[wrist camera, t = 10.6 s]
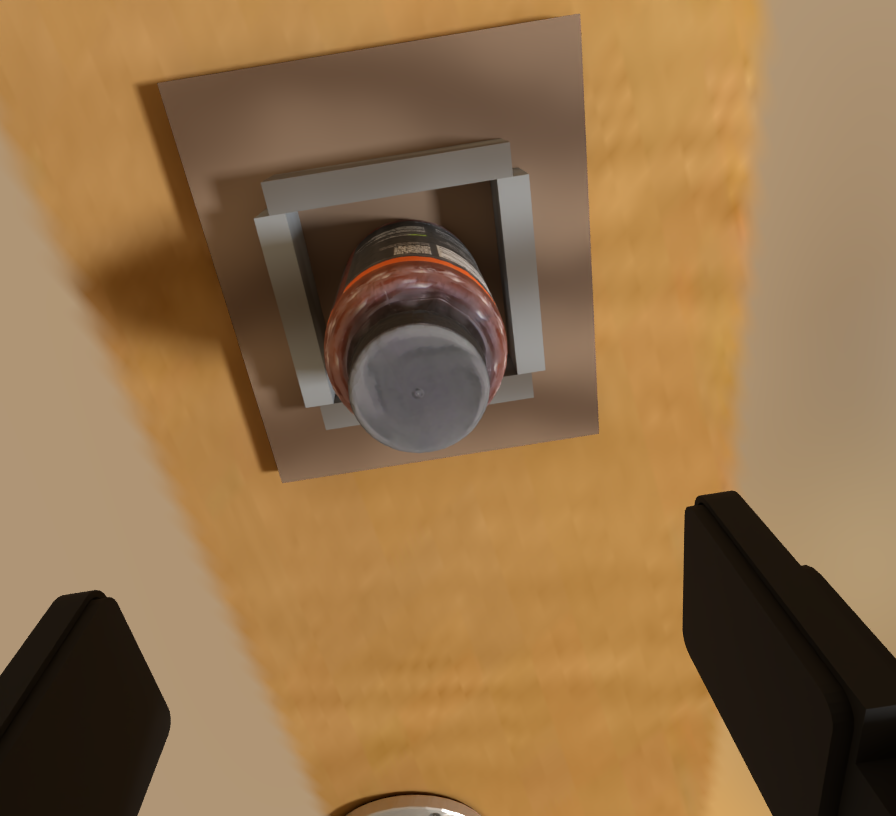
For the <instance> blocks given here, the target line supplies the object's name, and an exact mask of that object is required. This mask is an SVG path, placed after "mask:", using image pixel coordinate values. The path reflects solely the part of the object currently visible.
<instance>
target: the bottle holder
mask: <svg viewBox="0 0 896 816" xmlns="http://www.w3.org/2000/svg"><path fill="white" fill-rule="evenodd" d="M157 85H158V88H159V91H160V94H161V97H162V100H163V104H164V107H165V110H166V113H167V116H168V120H169V123H170V126H171V129H172V132H173V136H174V139H175V142H176V145H177V148H178V152H179V155H180V158H181V161H182V164H183V168H184V171H185V174H186V177H187V180H188V183H189V187H190V190H191V193H192V196H193V199H194V203H195V206H196V209H197V212H198V215H199V219H200V222H201V225H202V228H203V231H204V235H205V238H206V241H207V244H208V247H209V251H210V254H211V257H212V260H213V263H214V267H215V270H216V273H217V276H218V279H219V282H220V286H221V289H222V292H223V295H224V298H225V302H226V305H227V308H228V311H229V314H230V318H231V321H232V324H233V327H234V330H235V334H236V337H237V340H238V343H239V346H240V350H241V353H242V356H243V359H244V362H245V365H246V369H247V372H248V375H249V378H250V381H251V385H252V388H253V391H254V394H255V397H256V401H257V404H258V407H259V410H260V413H261V417H262V420H263V423H264V426H265V429H266V433H267V436H268V439H269V442H270V445H271V449H272V452H273V455H274V458H275V461H276V464H277V468H278V471H279V474H280V477H281V480H282V483H286V482H293V481H299V480H305V479H312V478H318V477H325V476H331V475H337V474H344V473H350V472H357V471H363V470H369V469H376V468H382V467H389V466H395V465H401V464H408V463H414V462H421V461H427V460H433V459H440V458H446V457H453V456H459V455H465V454H472V453H478V452H485V451H491V450H497V449H504V448H510V447H517V446H523V445H529V444H536V443H542V442H549V441H555V440H561V439H568V438H574V437H581V436H587V435H593V434H599V422H598V400H597V378H596V355H595V333H594V311H593V289H592V266H591V244H590V222H589V199H588V177H587V155H586V132H585V110H584V88H583V65H582V43H581V21H580V14H574V15H568V16H562V17H556V18H550V19H544V20H538V21H532V22H526V23H520V24H514V25H508V26H501V27H495V28H489V29H483V30H477V31H471V32H465V33H459V34H453V35H447V36H441V37H435V38H429V39H422V40H416V41H410V42H404V43H398V44H392V45H386V46H380V47H374V48H368V49H362V50H356V51H350V52H343V53H337V54H331V55H325V56H319V57H313V58H307V59H301V60H295V61H289V62H283V63H277V64H271V65H264V66H258V67H252V68H246V69H240V70H234V71H228V72H222V73H216V74H210V75H204V76H198V77H192V78H185V79H179V80H173V81H167V82H161V83H157ZM413 219H414V220H423V221H427V222H432V223H435V224H437V225H439V226H441V227H443V228H445V229H446V230H448V231H450V232H451V233H453V234H454V235H455V236H456V237H458V238H459V239H460V240H461V241H462V243H463V244H464V245H465V246H466V248H467V249H468V250H469V252H470V253H471V254H472V256H473V258H474V259H475V262H476V264H477V266H478V268H479V270H480V273H481V275H482V277H483V279H484V281H485V283H486V285H487V287H488V289H489V291H490V293H491V296H492V298H493V300H494V302H495V304H496V306H497V308H498V311H499V313H500V315H501V318H502V320H503V324H504V327H505V332H506V338H507V364H506V369H505V373H504V376H503V379H502V381H501V385H500V387H499V389H498V391H497V392H496V394H495V396H494V398H493V399H492V401H491V402H490V403H489V405H488V406H487V407H486V409H485V412H484V414H483V416H482V418H481V419H480V421H479V422H478V424H477V426H476V427H475V428H474V429H473V430H472V431H471V432H470V433H469V434H468V435H467V436H466V437H464V438H463V439H461V440H460V441H458V442H457V443H455V444H454V445H451V446H449V447H447V448H445V449H441V450H438V451H433V452H424V453H412V452H403V451H398V450H395V449H393V448H390V447H388V446H385V445H384V444H382V443H380V442H379V441H377V440H376V439H374V438H373V437H371V436H370V434H368V433H367V432H366V431H365V429H364V428H363V427H362V426H361V425H360V423H359V422H358V420H357V419H356V417H355V415H353V414H352V413H351V412H350V411H349V410H348V408H347V407H346V406H345V405H344V404H343V403H342V401H340V399H339V397H338V396H337V395H336V393H335V391H334V390H333V387H332V384H331V382H330V380H329V377H328V374H327V371H326V366H325V358H324V338H325V332H326V328H327V324H328V319H329V315H330V312H331V309H332V306H333V304H334V301H335V297H336V294H337V291H338V287H339V284H340V281H341V278H342V274H343V271H344V268H345V266H346V264H347V262H348V260H349V258H350V256H351V254H352V252H353V251H354V249H355V248H356V246H357V245H358V244H359V242H360V241H361V240H363V239H364V238H365V237H366V236H367V235H368V234H369V233H370V232H372V231H373V230H375V229H376V228H378V227H381V226H383V225H385V224H387V223H391V222H395V221H399V220H413Z"/></svg>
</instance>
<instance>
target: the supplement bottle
mask: <svg viewBox="0 0 896 816" xmlns="http://www.w3.org/2000/svg"><path fill="white" fill-rule="evenodd" d="M324 358H325V366H326V371H327V374H328V377H329V380H330V382H331V384H332V387H333V390H334V391H335V393H336V395H337V396H338V397H339V399H340V401H342V403H343V404H344V405H345V406H346V407H347V408H348V410H349V411H350V412H351V413H352V414H353V415H355V417H356V419H357V420H358V422H359V423H360V425H361V426H362V427H363V428H364V429H365V431H366V432H367V433H368V434H370V436H371V437H373V438H374V439H376V440H377V441H379V442H380V443H382V444H384V445H385V446H388V447H390V448H393V449H395V450H398V451H403V452H412V453H424V452H433V451H438V450H441V449H445V448H447V447H449V446H451V445H454V444H455V443H457V442H458V441H460V440H461V439H463V438H464V437H466V436H467V435H468V434H469V433H470V432H471V431H472V430H473V429H474V428H475V427H476V426H477V424H478V422H479V421H480V419H481V418H482V416H483V414H484V412H485V409H486V407H487V406H488V405H489V403H490V402H491V401H492V399H493V398H494V396H495V394H496V392H497V391H498V389H499V387H500V385H501V381H502V379H503V376H504V373H505V369H506V364H507V338H506V332H505V327H504V324H503V320H502V318H501V315H500V313H499V311H498V308H497V306H496V304H495V302H494V300H493V298H492V296H491V293H490V291H489V289H488V287H487V285H486V283H485V281H484V279H483V277H482V275H481V273H480V270H479V268H478V266H477V264H476V262H475V259H474V258H473V256H472V254H471V253H470V252H469V250H468V249H467V248H466V246H465V245H464V244H463V243H462V241H461V240H460V239H459V238H458V237H456V236H455V235H454V234H453V233H451V232H450V231H448V230H446V229H445V228H443V227H441V226H439V225H437V224H435V223H432V222H427V221H423V220H414V219H413V220H399V221H395V222H391V223H387V224H385V225H383V226H381V227H378V228H376V229H375V230H373V231H372V232H370V233H369V234H368V235H367V236H366V237H365V238H364V239H363V240H361V241H360V242H359V244H358V245H357V246H356V248H355V249H354V251H353V252H352V254H351V256H350V258H349V260H348V262H347V264H346V266H345V268H344V271H343V274H342V278H341V281H340V284H339V287H338V291H337V294H336V297H335V301H334V304H333V306H332V309H331V312H330V315H329V319H328V324H327V328H326V332H325V338H324Z"/></svg>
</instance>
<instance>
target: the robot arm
mask: <svg viewBox="0 0 896 816" xmlns="http://www.w3.org/2000/svg"><path fill="white" fill-rule="evenodd" d="M683 637H684V641H685V645H686V648H687V651H688V653H689V655H690V657H691V659H692V661H693V663H694V665H695V667H696V669H697V670H698V672H699V674H700V676H701V678H702V680H703V682H704V684H705V686H706V688H707V690H708V692H709V694H710V696H711V698H712V699H713V701H714V703H715V705H716V707H717V709H718V711H719V713H720V715H721V717H722V719H723V721H724V723H725V725H726V726H727V728H728V730H729V732H730V734H731V736H732V738H733V740H734V742H735V744H736V746H737V748H738V749H739V751H740V753H741V755H742V757H743V759H744V761H745V763H746V765H747V766H748V769H749V771H750V773H751V775H752V777H753V779H754V781H755V782H756V784H757V786H758V788H759V790H760V792H761V794H762V796H763V798H764V800H765V802H766V804H767V806H768V807H769V809H770V811H771V813H772V815H773V816H896V658H895V657H894V656H893V655H892V654H891V653H890V652H889V651H888V650H887V648H886V647H885V646H884V645H883V644H882V643H881V642H880V641H879V639H878V638H877V637H876V636H875V635H874V634H873V633H872V632H871V630H870V629H869V628H868V627H867V626H866V625H865V624H864V622H862V620H861V619H860V618H859V617H858V616H857V615H856V613H855V612H854V611H853V610H852V609H851V608H850V607H849V606H848V605H847V604H846V602H845V601H844V600H843V599H842V598H841V597H840V596H839V594H838V593H837V592H836V591H835V590H834V589H833V588H832V587H831V586H830V584H829V583H828V582H827V581H826V580H825V579H824V578H823V576H822V575H821V574H820V573H818V572H817V571H816V570H815V569H814V568H812V567H809V566H807V565H803V566H801V565H800V564H799V563H798V562H797V561H796V560H795V558H794V557H793V556H792V555H791V554H790V553H789V551H787V549H786V548H785V547H784V546H783V545H782V543H781V542H780V541H779V540H778V539H777V538H776V537H775V535H774V534H773V533H772V532H771V531H770V529H769V528H768V527H767V526H766V525H765V524H764V523H763V521H762V520H761V519H760V518H759V517H758V516H757V514H756V513H755V512H754V511H753V510H752V509H751V508H750V506H749V505H748V504H747V503H746V502H745V501H744V499H743V498H742V497H741V496H740V495H739V494H738V493H737V492H736V491H726V492H720V493H714V494H707V495H701V496H698V497H697V498H696V500H695V505H694V506H690V507H687V508H686V510H685V525H684V580H683ZM170 719H171V718H170V711H169V709H168V707H167V704H166V702H165V700H164V698H163V696H162V694H161V692H160V690H159V688H158V686H157V684H156V682H155V679H154V677H153V675H152V673H151V671H150V669H149V667H148V665H147V663H146V661H145V659H144V657H143V655H142V653H141V651H140V649H139V647H138V645H137V643H136V641H135V639H134V636H133V634H132V632H131V630H130V628H129V626H128V624H127V622H126V620H125V618H124V616H123V614H122V612H121V610H120V608H119V606H118V604H117V602H116V601H115V599H113V598H110V597H106V596H105V594H104V593H103V592H101V591H98V590H94V591H87V592H80V593H74V594H68V595H62V596H60V597H58V598H57V599H56V600H55V601H54V602H53V603H52V605H51V606H50V607H49V609H48V610H47V612H46V613H45V614H44V616H43V617H42V618H41V620H40V621H39V623H38V624H37V625H36V627H35V628H34V630H33V631H32V632H31V634H30V635H29V636H28V638H27V639H26V641H25V642H24V643H23V645H22V646H21V648H20V649H19V650H18V652H17V653H16V655H15V656H14V658H13V659H12V660H11V662H10V663H9V664H8V666H7V667H6V668H5V670H4V671H3V673H2V674H1V675H0V816H137V815H138V813H139V810H140V807H141V805H142V802H143V800H144V797H145V794H146V792H147V789H148V786H149V784H150V781H151V778H152V776H153V773H154V771H155V768H156V766H157V763H158V760H159V757H160V755H161V752H162V750H163V747H164V745H165V742H166V739H167V737H168V733H169V730H170V724H171V722H170V721H171V720H170ZM346 816H481V815H479V814H478V813H477V812H476V811H475V810H473V809H471V808H469V807H468V806H466V805H464V804H462V803H459V802H456V801H454V800H451V799H447V798H442V797H437V796H430V795H400V796H394V797H388V798H383V799H380V800H377V801H373V802H370V803H367V804H365V805H363V806H361V807H359V808H357V809H355V810H353V811H352V812H350V813H349V814H347V815H346Z"/></svg>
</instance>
